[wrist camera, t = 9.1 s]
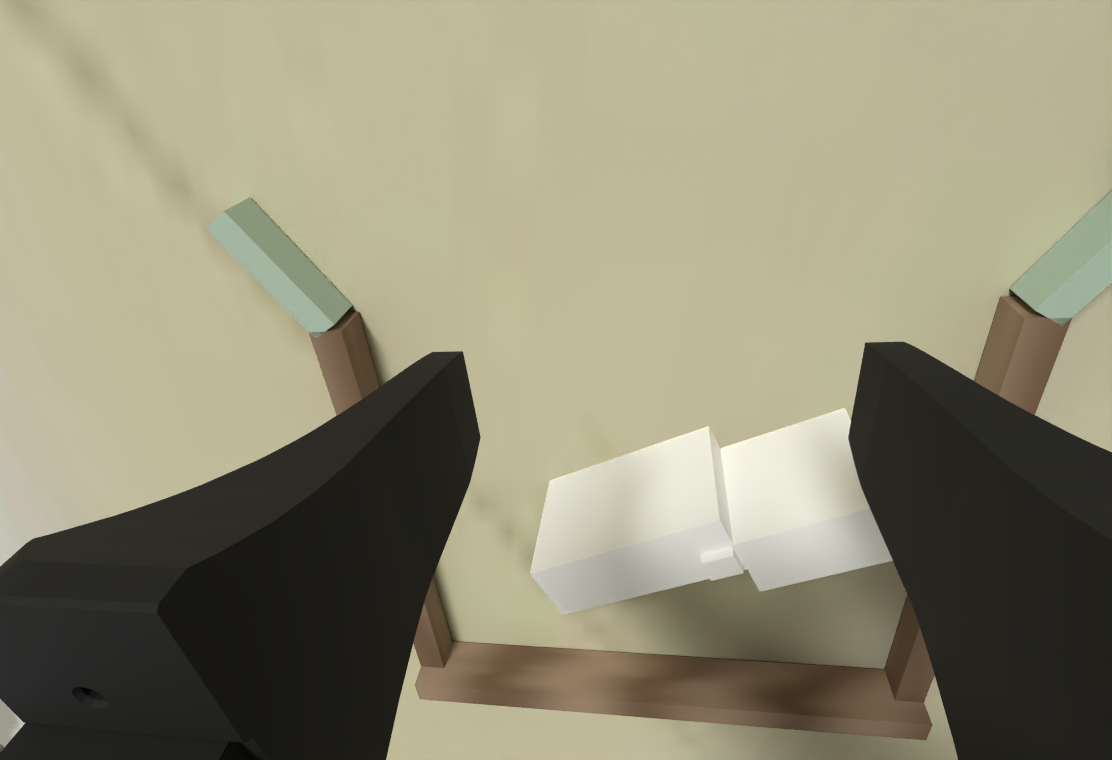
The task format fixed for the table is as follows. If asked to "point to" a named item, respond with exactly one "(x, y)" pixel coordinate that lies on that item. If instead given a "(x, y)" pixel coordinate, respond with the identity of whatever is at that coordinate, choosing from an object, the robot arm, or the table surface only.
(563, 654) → the napkin dock
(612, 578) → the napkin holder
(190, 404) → the table surface
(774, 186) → the table surface
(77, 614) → the robot arm
